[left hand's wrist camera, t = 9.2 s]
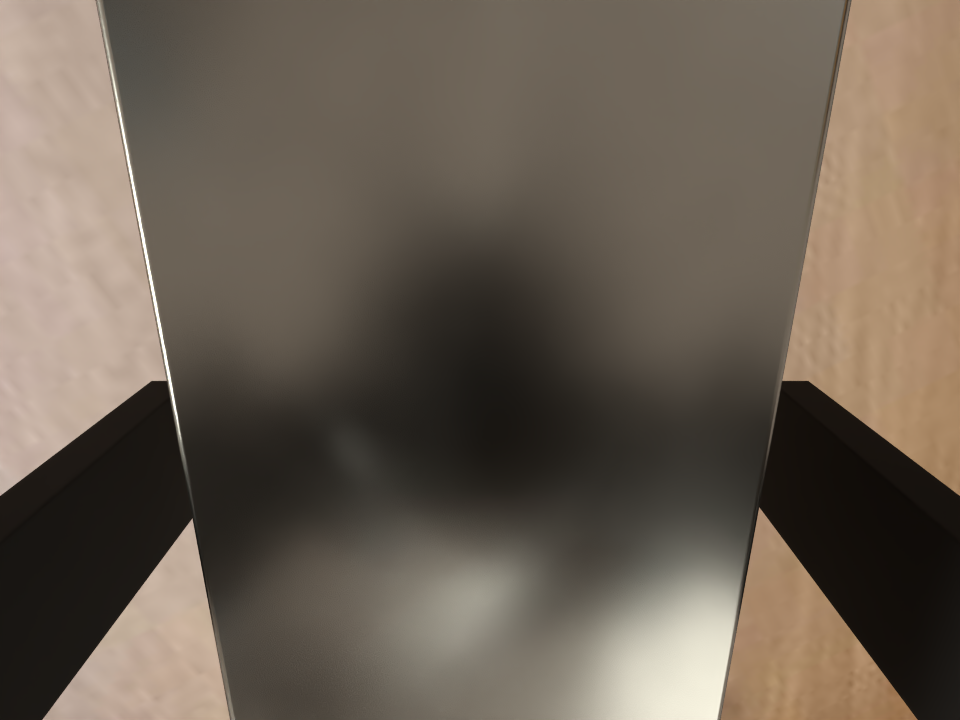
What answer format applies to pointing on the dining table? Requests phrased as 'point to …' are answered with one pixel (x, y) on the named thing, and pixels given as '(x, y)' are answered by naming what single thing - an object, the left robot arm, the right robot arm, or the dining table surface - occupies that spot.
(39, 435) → the dining table surface
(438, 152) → the bar
